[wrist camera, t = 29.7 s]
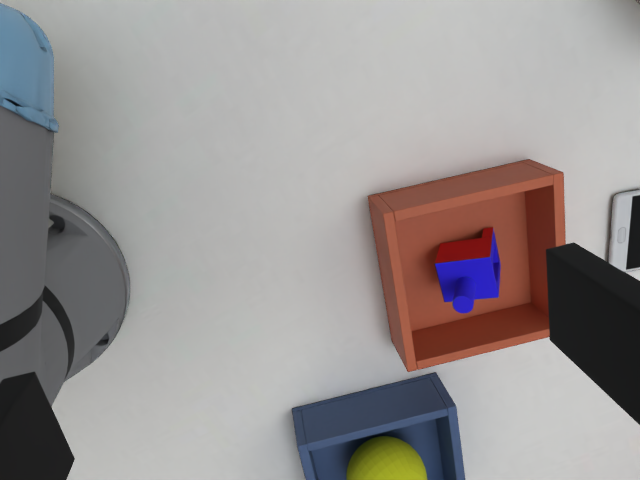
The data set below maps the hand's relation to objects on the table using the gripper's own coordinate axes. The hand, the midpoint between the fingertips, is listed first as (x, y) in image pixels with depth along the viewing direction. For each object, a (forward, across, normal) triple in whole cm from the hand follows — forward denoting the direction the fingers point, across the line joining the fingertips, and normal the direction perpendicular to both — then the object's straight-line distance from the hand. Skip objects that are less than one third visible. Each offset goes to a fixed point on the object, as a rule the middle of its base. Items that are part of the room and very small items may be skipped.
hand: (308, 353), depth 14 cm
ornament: (+28, -4, +30) cm, 41 cm away
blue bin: (+29, -4, +30) cm, 42 cm away
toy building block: (+28, -14, +12) cm, 34 cm away
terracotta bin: (+29, -14, +12) cm, 34 cm away
